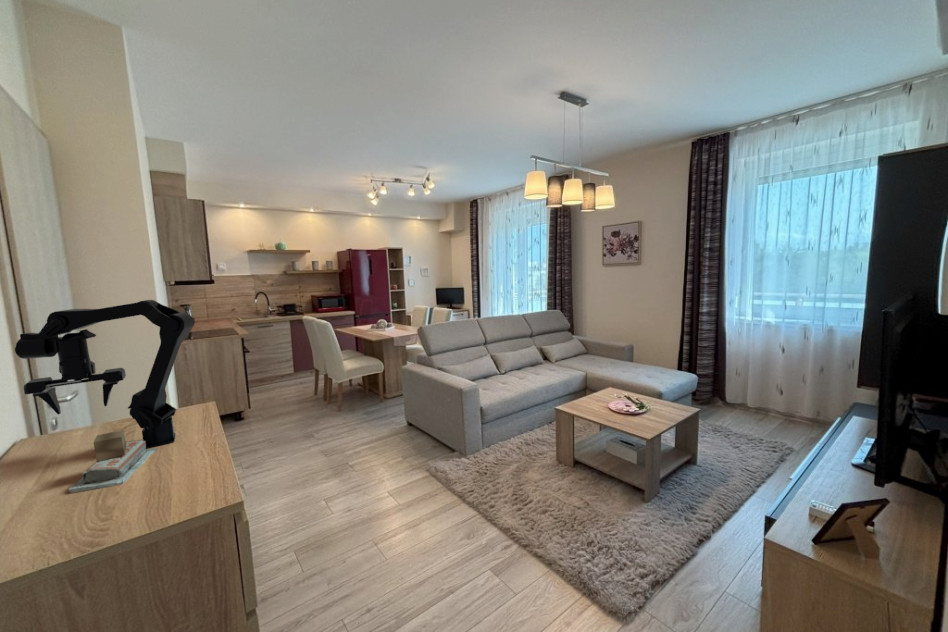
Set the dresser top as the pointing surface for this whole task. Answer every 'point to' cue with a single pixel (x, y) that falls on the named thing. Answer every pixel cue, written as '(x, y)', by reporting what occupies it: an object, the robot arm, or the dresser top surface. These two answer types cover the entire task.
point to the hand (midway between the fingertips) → (83, 409)
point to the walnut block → (110, 445)
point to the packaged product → (114, 468)
